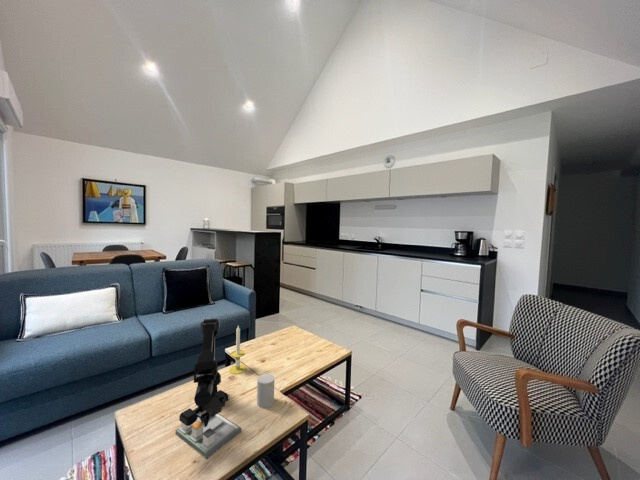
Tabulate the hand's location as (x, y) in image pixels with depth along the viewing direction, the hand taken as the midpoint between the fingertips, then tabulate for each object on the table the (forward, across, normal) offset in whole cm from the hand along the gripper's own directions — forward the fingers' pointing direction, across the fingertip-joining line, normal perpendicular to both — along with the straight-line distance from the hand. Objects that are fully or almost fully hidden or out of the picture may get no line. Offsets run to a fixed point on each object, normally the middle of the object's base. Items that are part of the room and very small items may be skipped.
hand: (205, 426), depth 109 cm
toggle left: (+1, -3, +7) cm, 8 cm away
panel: (+4, +2, 0) cm, 4 cm away
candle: (+4, +41, +28) cm, 49 cm away
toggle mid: (+1, -3, 0) cm, 4 cm away
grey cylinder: (+4, +29, -6) cm, 29 cm away
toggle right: (+1, -3, -7) cm, 8 cm away
